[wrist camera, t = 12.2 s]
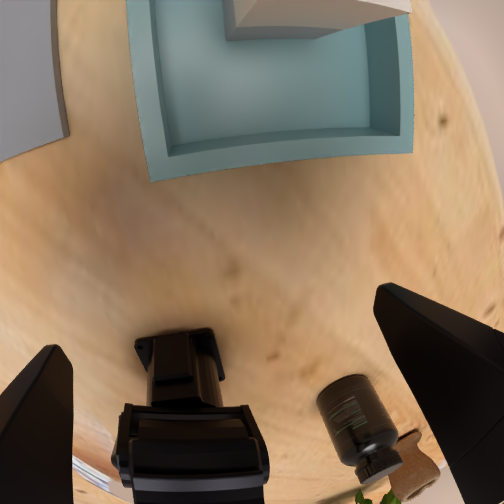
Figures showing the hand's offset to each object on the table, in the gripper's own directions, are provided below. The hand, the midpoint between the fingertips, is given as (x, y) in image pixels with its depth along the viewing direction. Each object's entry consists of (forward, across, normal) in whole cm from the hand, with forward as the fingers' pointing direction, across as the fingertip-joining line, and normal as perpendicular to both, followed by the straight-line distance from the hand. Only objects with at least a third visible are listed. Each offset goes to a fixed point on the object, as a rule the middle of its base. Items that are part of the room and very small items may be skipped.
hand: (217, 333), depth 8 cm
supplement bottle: (+12, -12, +26) cm, 31 cm away
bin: (+12, -5, -11) cm, 17 cm away
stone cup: (+12, -29, +60) cm, 68 cm away
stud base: (+12, +13, -11) cm, 21 cm away
